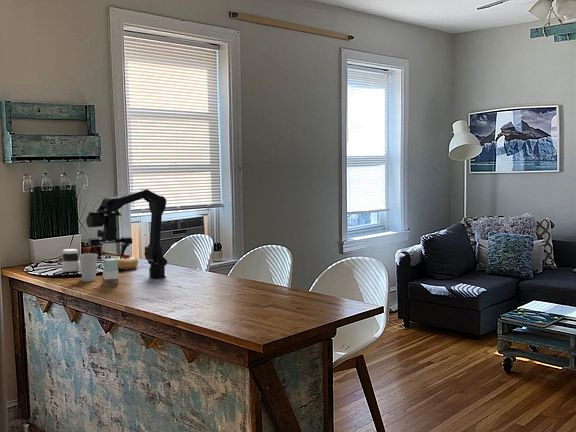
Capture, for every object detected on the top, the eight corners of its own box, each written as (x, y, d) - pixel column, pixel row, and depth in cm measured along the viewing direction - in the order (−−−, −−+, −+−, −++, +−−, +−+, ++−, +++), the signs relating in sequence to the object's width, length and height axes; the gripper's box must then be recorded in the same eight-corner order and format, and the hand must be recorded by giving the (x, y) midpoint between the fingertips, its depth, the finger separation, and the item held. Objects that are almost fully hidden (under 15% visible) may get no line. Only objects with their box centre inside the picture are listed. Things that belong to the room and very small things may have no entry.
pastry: (109, 269, 316) (109, 252, 315) (122, 265, 328) (122, 248, 327) (130, 271, 313) (130, 254, 312) (142, 267, 324) (142, 250, 323)
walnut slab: (115, 283, 287) (115, 275, 287) (118, 286, 282) (118, 278, 282) (102, 284, 284) (102, 277, 284) (105, 287, 279) (105, 279, 279)
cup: (86, 282, 286) (86, 257, 285) (76, 280, 291) (75, 254, 290) (101, 279, 293) (100, 254, 291) (90, 277, 297) (90, 252, 296)
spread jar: (61, 271, 309) (61, 248, 308) (85, 270, 314) (84, 247, 312) (63, 276, 298) (63, 252, 297) (88, 274, 303) (87, 251, 302)
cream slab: (116, 275, 287) (116, 268, 286) (118, 278, 281) (118, 271, 281) (102, 276, 284) (102, 269, 284) (104, 279, 279) (104, 271, 278)
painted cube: (114, 268, 286) (114, 258, 285) (117, 270, 281) (117, 259, 281) (103, 269, 283) (103, 258, 283) (106, 271, 279) (106, 260, 278)
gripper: (126, 222, 292) (126, 255, 293) (85, 224, 282) (85, 258, 284) (132, 225, 282) (132, 259, 284) (90, 227, 273) (90, 262, 275)
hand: (110, 259), depth 282 cm, fingers open, 9 cm apart
